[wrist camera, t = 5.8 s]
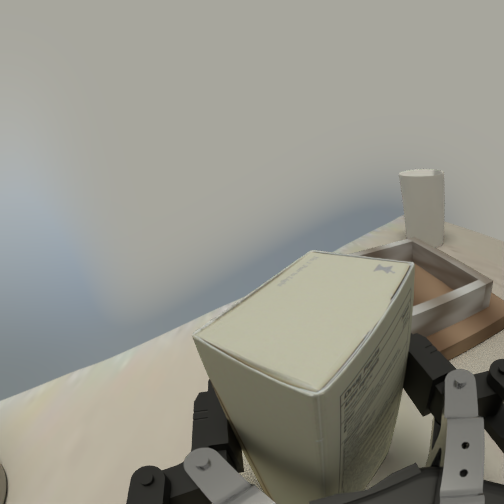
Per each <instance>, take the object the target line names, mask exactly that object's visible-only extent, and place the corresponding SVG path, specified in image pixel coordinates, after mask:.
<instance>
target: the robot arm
mask: <svg viewBox="0 0 504 504" xmlns="http://www.w3.org/2000/svg"><path fill="white" fill-rule="evenodd" d="M403 388H404V390H405V391H406V393H407V394H408V395H409V397H410V398H411V400H412V401H413V403H414V404H415V406H416V407H417V409H418V410H419V412H420V413H421V414H422V416H423V417H424V416H426V415H428V414H430V413H432V415H433V416H434V417H433V421H432V431H431V440H430V449H429V455H428V459H427V462H426V466H425V467H422V468H418V466H417V464H416V463H414V464H412V465H410V466H408V467H406V468H404V469H401V470H399V471H397V472H395V473H392V474H391V475H389V476H388V477H386V478H385V479H383V480H382V481H380V482H379V483H377V484H376V485H374V486H373V487H371V488H370V489H368V490H364V491H357V492H349V493H339V494H334V495H331V496H327V497H324V498H320V499H317V500H313V501H309V504H504V485H503V484H498V483H494V482H490V481H486V480H483V477H484V429H485V430H486V431H487V433H488V434H489V435H490V436H491V438H492V439H493V440H494V441H495V443H496V444H497V445H498V447H499V448H500V449H501V450H502V452H503V453H504V359H498V360H496V361H494V362H493V363H492V364H491V366H490V369H489V371H486V372H482V373H478V374H474V375H473V374H472V373H471V372H469V371H467V370H464V369H456V368H455V367H454V366H453V365H452V364H451V363H450V362H449V361H448V360H447V359H446V358H445V357H444V356H443V355H442V354H441V352H440V351H438V350H437V348H436V347H435V346H434V345H432V343H431V342H430V341H429V340H428V339H427V338H426V337H424V336H422V335H420V334H418V333H415V334H412V333H411V335H410V343H409V352H408V359H407V366H406V372H405V378H404V384H403ZM241 472H244V467H243V457H242V448H241V446H240V444H239V442H238V440H237V438H236V436H235V434H234V432H233V430H232V428H231V426H230V424H229V421H228V419H227V417H226V415H225V413H224V411H223V408H222V406H221V404H220V402H219V399H218V397H217V395H216V393H215V390H214V388H213V386H212V383H211V381H210V379H209V381H208V391H207V392H201V393H199V394H198V396H197V398H196V400H195V401H194V413H193V431H192V449H191V452H190V453H189V454H188V455H187V456H186V458H185V460H184V462H182V463H181V464H179V465H177V466H174V467H171V468H168V469H165V470H161V469H159V468H158V467H155V466H144V467H141V468H139V469H138V470H136V471H135V472H134V474H133V475H132V477H131V481H130V487H129V492H128V497H127V503H126V504H212V503H213V504H276V503H275V502H274V501H273V500H271V499H270V498H269V497H268V496H267V495H266V494H264V493H263V492H262V491H261V490H260V489H259V488H257V487H256V486H255V485H253V484H252V485H251V484H250V483H249V482H247V481H246V480H245V479H244V478H243V477H242V476H241V475H240V474H239V473H241ZM5 495H6V476H5V472H4V469H3V467H2V465H1V464H0V504H3V502H4V499H5Z"/></svg>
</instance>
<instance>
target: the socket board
mask: <svg viewBox="0 0 504 504" xmlns="http://www.w3.org/2000/svg"><path fill="white" fill-rule="evenodd" d="M349 255H356V256H357V255H358V256H366V257H373V258H381V259H389V260H397V261H406V262H414V264H415V276H414V300H413V313H412V324H411V333H412V334H415V333H418V334H420V335H422V336H424V337H426V338H427V339H428V340H429V341H430V342H431V343H432V345H434V346H435V347H436V348H437V350H438V351H440V352H441V354H442V355H443V356H444V357H445V358H446V359H447V360H450V359H452V358H454V357H456V356H458V355H460V354H462V353H464V352H465V351H467V350H469V349H471V348H473V347H474V346H476V345H478V344H480V343H481V342H483V341H485V340H486V339H488V338H490V337H491V336H493V335H495V334H496V333H498V332H499V331H501V330H503V329H504V300H502V299H501V298H499V297H498V296H496V295H495V294H493V293H492V292H491V291H492V285H493V280H491V279H489V278H488V277H486V276H484V275H483V274H481V273H479V272H478V271H476V270H474V269H472V268H471V267H469V266H467V265H465V264H464V263H462V262H460V261H458V260H457V259H455V258H453V257H451V256H449V255H448V254H446V253H444V252H442V251H440V250H438V249H437V248H435V247H433V246H431V245H429V244H427V243H425V242H423V241H421V240H420V239H418V238H416V237H412V238H408V239H405V240H401V241H397V242H393V243H390V244H386V245H382V246H378V247H375V248H371V249H367V250H363V251H359V252H355V253H352V254H349Z"/></svg>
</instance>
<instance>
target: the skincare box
mask: <svg viewBox="0 0 504 504" xmlns="http://www.w3.org/2000/svg"><path fill="white" fill-rule="evenodd" d="M414 276H415V264H414V262H406V261H397V260H389V259H381V258H373V257H366V256H358V255H357V256H356V255H349V254H342V253H332V252H324V251H315V250H312V251H309V252H308V253H306V254H305V255H304V256H302V257H301V258H299V259H298V260H296V261H295V262H293V263H292V264H291V265H289V266H288V267H287V268H285V269H284V270H282V271H281V272H280V273H278V274H277V275H275V276H274V277H272V278H271V279H270V280H268V281H266V282H265V283H264V284H262V285H261V286H260V287H258V288H257V289H255V290H254V291H252V292H251V293H250V294H249V295H247V296H246V297H244V298H243V299H241V300H240V301H238V302H237V303H235V304H234V305H232V306H231V307H230V308H228V309H227V310H226V311H224V312H223V313H221V314H220V315H218V316H217V317H215V318H214V319H212V320H211V321H209V322H208V323H207V324H205V325H204V326H202V327H201V328H199V329H198V330H196V331H195V332H194V333H193V335H192V336H193V340H194V342H195V345H196V347H197V350H198V352H199V355H200V357H201V360H202V362H203V365H204V367H205V369H206V372H207V374H208V376H209V378H210V381H211V383H212V386H213V388H214V390H215V393H216V395H217V397H218V399H219V402H220V404H221V406H222V408H223V411H224V413H225V415H226V417H227V419H228V421H229V424H230V426H231V428H232V430H233V432H234V434H235V436H236V438H237V440H238V442H239V444H240V446H241V448H242V451H243V453H244V455H245V457H246V459H247V461H248V462H249V465H250V466H251V468H252V470H253V472H254V474H255V476H256V478H257V480H258V482H259V483H260V485H261V487H262V489H263V491H264V493H265V494H266V495H267V496H268V497H269V498H270V499H271V500H273V501H274V502H275V503H276V504H309V501H313V500H317V499H320V498H324V497H327V496H331V495H334V494H339V493H349V492H357V491H363V490H364V489H365V487H366V486H367V485H368V483H369V482H370V480H371V479H372V477H373V476H374V474H375V473H376V471H377V470H378V468H379V467H380V465H381V463H382V462H383V460H384V458H385V457H386V455H387V453H388V451H389V447H390V444H391V440H392V436H393V432H394V428H395V424H396V419H397V415H398V410H399V405H400V401H401V395H402V390H403V384H404V378H405V372H406V366H407V359H408V352H409V343H410V335H411V324H412V313H413V300H414Z"/></svg>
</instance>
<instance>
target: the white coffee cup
mask: <svg viewBox="0 0 504 504" xmlns="http://www.w3.org/2000/svg"><path fill="white" fill-rule="evenodd" d="M399 178H400V185H401V192H402V199H403V208H404V217H405V227H406V238H407V239H408V238H412V237H416V238H418V239H420V240H421V241H423V242H425V243H427V244H429V245H431V246H433V247H435V248H436V247H439V246H441V245H442V244H443V240H444V206H445V205H444V204H445V203H444V201H445V200H444V172H443V171H441V170H433V169H419V170H418V169H417V170H408V171H403V172H400V173H399Z"/></svg>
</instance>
